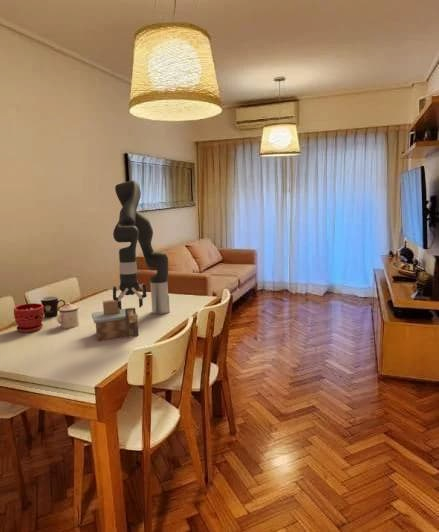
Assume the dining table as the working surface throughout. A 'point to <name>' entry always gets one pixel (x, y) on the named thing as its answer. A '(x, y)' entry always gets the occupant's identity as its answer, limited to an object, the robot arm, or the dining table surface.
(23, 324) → the plant pot
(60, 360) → the dining table surface
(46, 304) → the coffee mug
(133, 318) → the key
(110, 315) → the lid
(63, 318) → the teacup with lid
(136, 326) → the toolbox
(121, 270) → the robot arm
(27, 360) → the dining table surface
